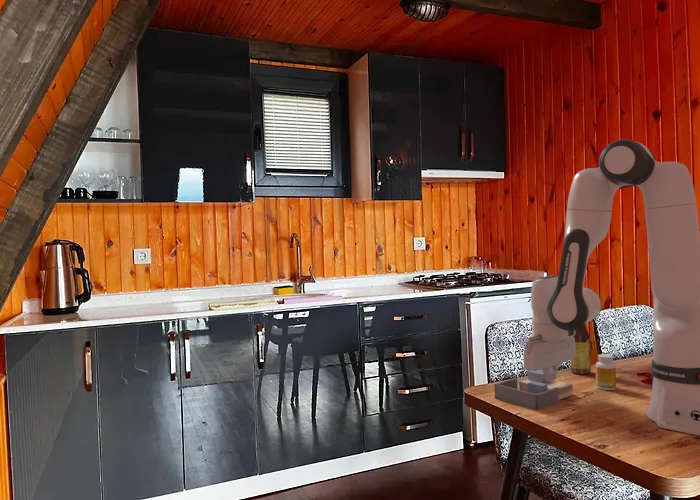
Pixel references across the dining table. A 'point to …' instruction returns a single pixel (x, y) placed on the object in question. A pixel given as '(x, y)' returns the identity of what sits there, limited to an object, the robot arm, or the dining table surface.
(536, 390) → the tile
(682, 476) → the dining table surface
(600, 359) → the supplement bottle
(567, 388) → the board
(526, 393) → the tray
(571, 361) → the sauce bottle
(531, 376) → the tile
